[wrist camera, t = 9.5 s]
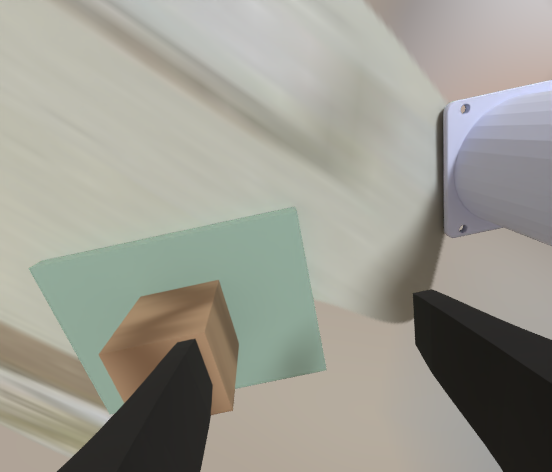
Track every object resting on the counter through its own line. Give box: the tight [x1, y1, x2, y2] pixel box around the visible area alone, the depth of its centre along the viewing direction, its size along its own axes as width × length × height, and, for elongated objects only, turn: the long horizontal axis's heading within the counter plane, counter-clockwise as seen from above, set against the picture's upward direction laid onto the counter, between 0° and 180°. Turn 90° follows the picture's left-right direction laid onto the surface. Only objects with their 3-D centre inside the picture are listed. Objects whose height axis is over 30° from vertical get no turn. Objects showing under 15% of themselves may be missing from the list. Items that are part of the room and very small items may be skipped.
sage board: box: [29, 207, 326, 414], centre depth 19 cm, size 16×12×1 cm
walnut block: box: [99, 280, 239, 415], centre depth 17 cm, size 5×5×5 cm
